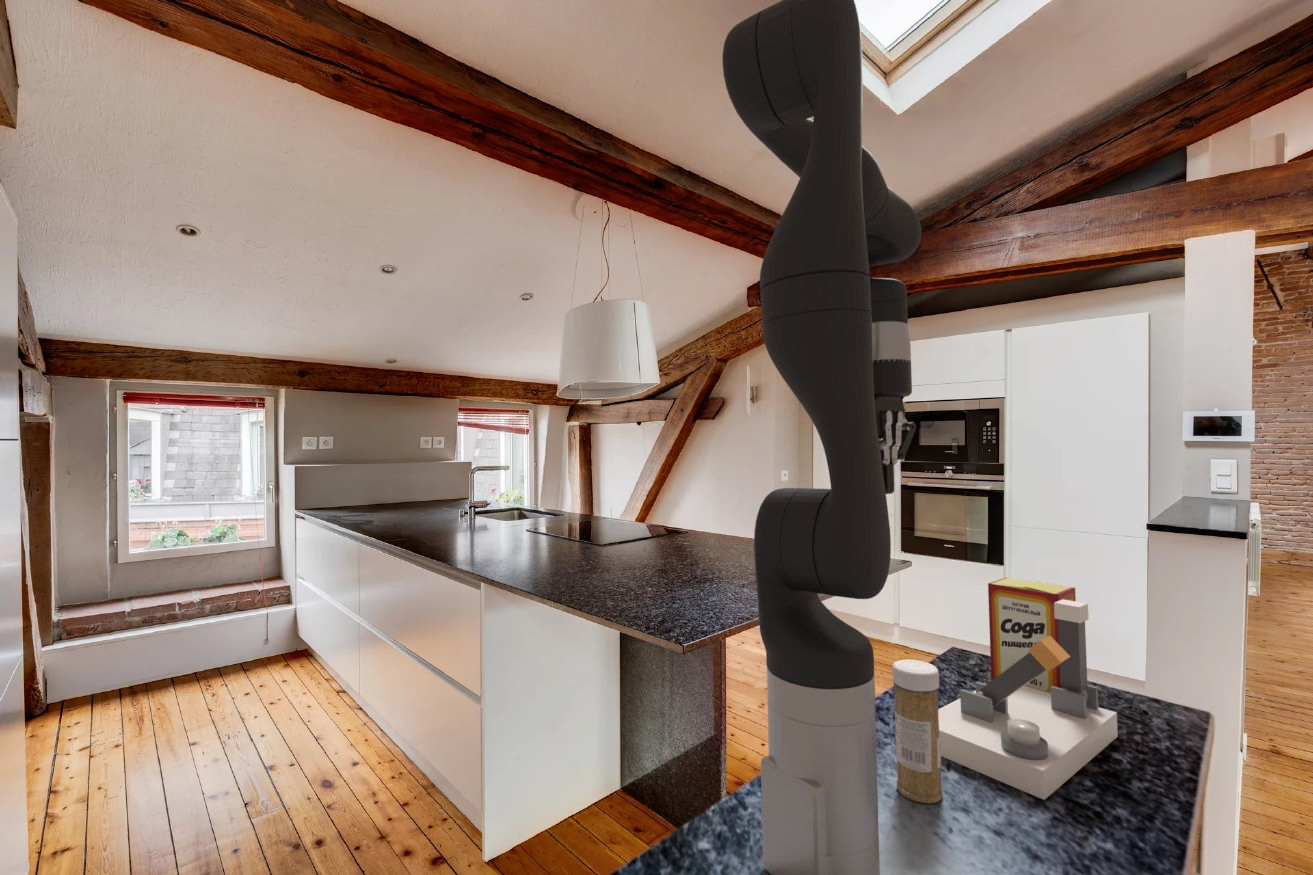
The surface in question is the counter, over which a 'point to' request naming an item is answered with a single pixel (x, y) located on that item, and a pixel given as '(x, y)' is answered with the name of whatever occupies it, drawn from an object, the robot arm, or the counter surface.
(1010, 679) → the lever orange
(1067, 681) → the lever white
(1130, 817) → the counter surface
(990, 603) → the baking soda box
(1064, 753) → the switch panel
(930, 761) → the sprinkles bottle
